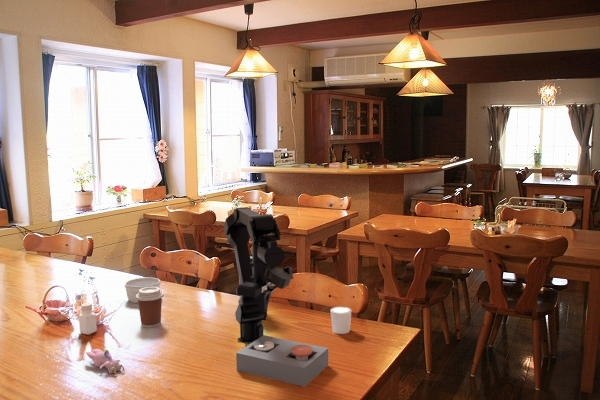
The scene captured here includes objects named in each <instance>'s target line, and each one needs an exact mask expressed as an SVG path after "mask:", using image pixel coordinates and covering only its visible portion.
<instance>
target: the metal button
mask: <svg viewBox="0 0 600 400" xmlns="http://www.w3.org/2000/svg"><path fill="white" fill-rule="evenodd" d="M273 349H274V343H273V342H270V341H260V342H257V343H255V344H254V350H257V351H261V352H266V353H268V352H270V351H271V350H273Z"/></svg>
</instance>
